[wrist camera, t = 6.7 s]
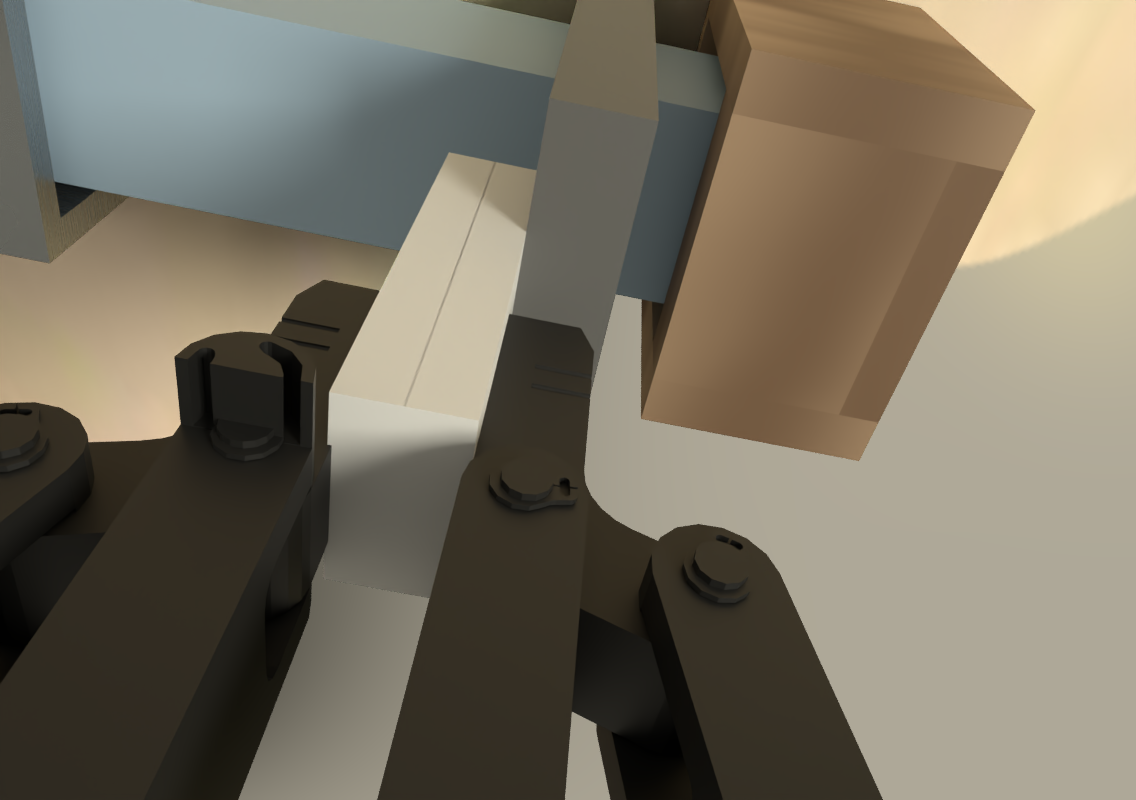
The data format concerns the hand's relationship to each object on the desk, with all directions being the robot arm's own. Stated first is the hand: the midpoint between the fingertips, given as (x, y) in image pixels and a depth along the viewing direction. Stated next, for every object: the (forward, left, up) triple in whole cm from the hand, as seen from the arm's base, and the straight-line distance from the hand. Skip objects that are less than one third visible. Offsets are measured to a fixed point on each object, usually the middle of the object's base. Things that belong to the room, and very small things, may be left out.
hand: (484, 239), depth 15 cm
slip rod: (-3, 0, -7) cm, 8 cm away
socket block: (+6, 0, -8) cm, 10 cm away
